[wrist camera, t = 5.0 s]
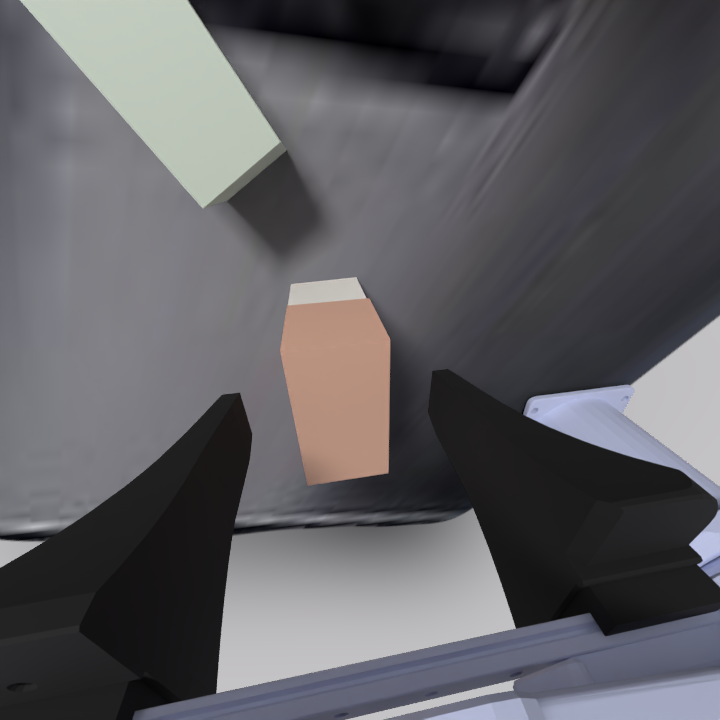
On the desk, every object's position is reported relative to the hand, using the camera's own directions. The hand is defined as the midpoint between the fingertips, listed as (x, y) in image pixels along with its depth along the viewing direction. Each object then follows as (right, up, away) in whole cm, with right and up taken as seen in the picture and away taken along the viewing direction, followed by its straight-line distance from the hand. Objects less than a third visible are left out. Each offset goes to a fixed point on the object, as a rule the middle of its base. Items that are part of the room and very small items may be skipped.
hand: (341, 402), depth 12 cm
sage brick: (-5, +11, -1) cm, 12 cm away
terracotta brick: (0, +1, +2) cm, 2 cm away
